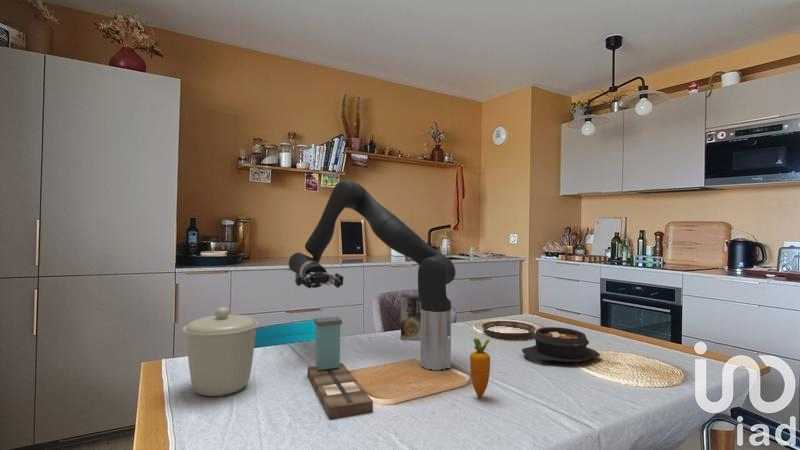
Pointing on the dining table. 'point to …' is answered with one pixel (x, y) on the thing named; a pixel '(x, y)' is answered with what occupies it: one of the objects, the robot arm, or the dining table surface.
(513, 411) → the dining table surface
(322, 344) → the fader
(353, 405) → the grooved wooden base
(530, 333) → the plant saucer
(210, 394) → the canister
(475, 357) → the carrot
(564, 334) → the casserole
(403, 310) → the coffee box
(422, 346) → the robot arm
